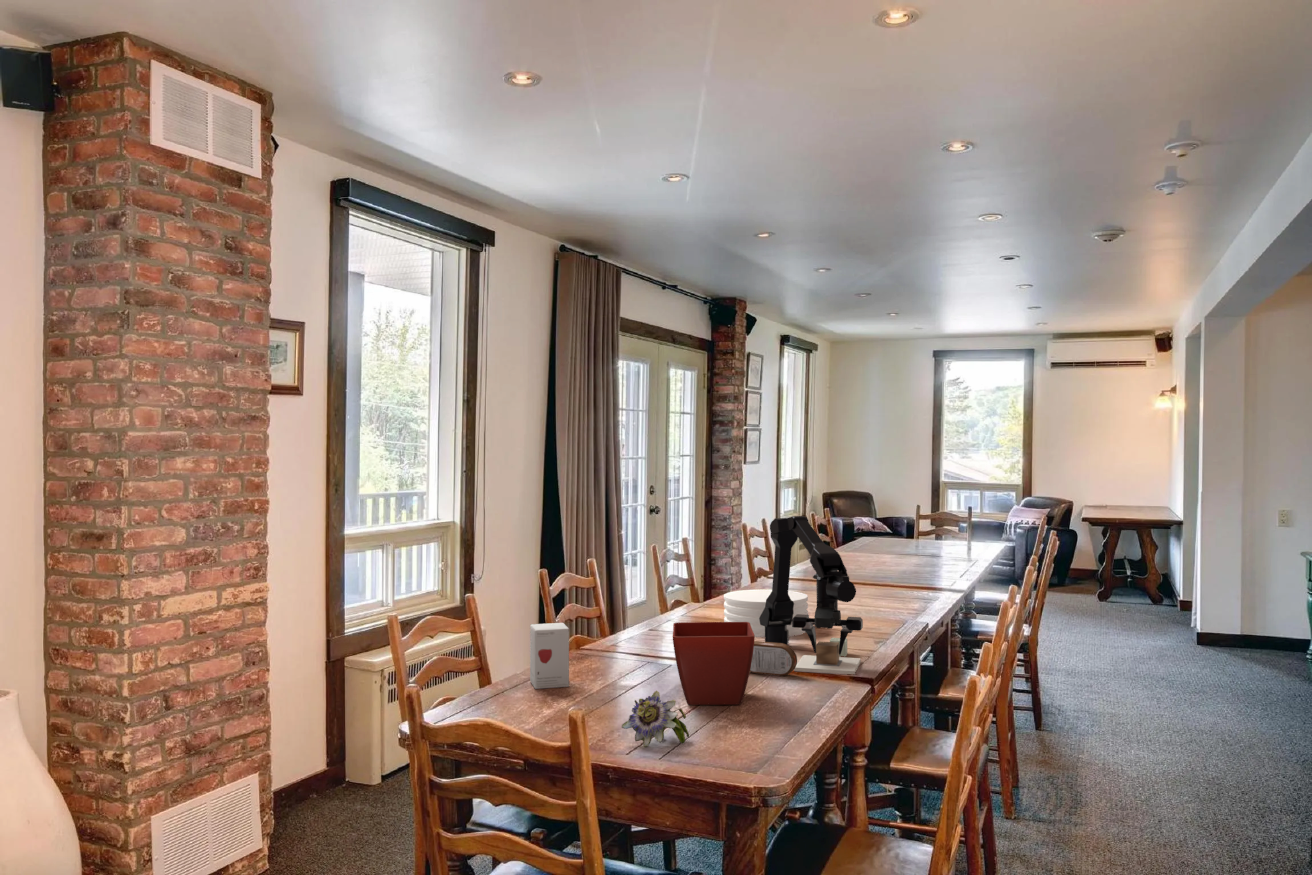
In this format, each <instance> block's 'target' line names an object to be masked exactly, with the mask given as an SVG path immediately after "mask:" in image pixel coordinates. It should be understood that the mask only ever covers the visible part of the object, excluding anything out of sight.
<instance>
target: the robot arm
mask: <svg viewBox="0 0 1312 875" xmlns="http://www.w3.org/2000/svg"><path fill="white" fill-rule="evenodd" d="M769 532H770V539H771V540H772V543H773V544H774V558H773V570H772V571H773V574H772V585H771V586H772V587H771V589H772V592H771V594H770V595H769V597H768V598H767V599H766V604H765V608H764V610H763V612H762V614H761V616H760V617H759V620H760V625H762V626H765V637H764V642H772V643H783V644H786V645H788V644H789V641H790V640H789V638H790V636H789V630H788V629H787V625H791V624H792V627H795V628H802V631H805V632H806V635H807V637H808V638H809V640H810V644H811V647H812V649H813V653H814V654H816V645H817V636H816V635H817V634H816V629H828V630H831V629H833V628H834V627H841V630H840V633H839V634H840V636H839V638H840V644H839V655H841V652H842V649H843V646H844V643H845V640H846V638H847V637H848V635H849V634H851V633H853V631H855V632H856V631H862V629H863V627H864V626H863V625H864V622H863V618H862V617H860V616H847V618H846V619H842V614H841V610H839V607H838V606H839V604H838V601H840V602H843V603H849V602H851V601H853V600H854V598H855V597H856V595H857V589H856V586H855V585H854V583H853V582H852V581H850V576H849V575H848V572H847V571H848V570H847V568H846V566H845V564H844V561H843V559H842V557H841V555H840V553H839V552H838V551H837V550H836V549H835V548H833V546H830V545H828V544H826V543H825V542H823V540H822V539H821V537H820V535H819V534H818V533H817V532H816V531H815V529H814V528H813V526H812V525H811V524H810V522H809V519H808V517H807V516H805V515H794V516H793V515H792V516H790V517H779V518H773V519H772V520H771V522H770V524H769ZM798 540H799V541H800V542H801V543H802V545H803V546H804V548H805V550H807V552H808V553H809V555H810V557H809V562H810V564H811V567H812V569H813V570H814V572H815V574H814V575H813V576H812V579H815V580H816V582H815V585H816V609H815V612H814V617H810V614H808V615H802V614H797V615H796V616H795V617H794V618H793V614H794V611H793V607H794V602H793V601H791V599H790V597H789V595H788V591H789V586H790V575H791V574H790V571H791V562H792V561H791V559H792V548H793V547H794V545H795V544H796V543H797V541H798ZM792 618H793V619H792Z"/></svg>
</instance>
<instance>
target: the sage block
mask: <svg viewBox="0 0 1312 875" xmlns="http://www.w3.org/2000/svg"><path fill="white" fill-rule="evenodd" d="M829 642H839V644H840V637H831V638H830V639H829ZM847 655H848V638H847V637H846V640H845V643H844V646H843V649H842V652H841V655H839V657H841V656H844V657H846V658H847Z"/></svg>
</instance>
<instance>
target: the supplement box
mask: <svg viewBox="0 0 1312 875" xmlns="http://www.w3.org/2000/svg"><path fill="white" fill-rule="evenodd" d="M529 629H530V631H529V634H530V635H529V638H530V641H529V642H530V644H529V649H530V650H529V652H530V653H529V681H530V683H531V685H532V686H533V688H534V689H535V690H539V689H555V688H569V687H570V628H569V627H568V626H567V625H566V624H565V623H564V622H553V623H552V622H551V623H533V624H530V625H529Z"/></svg>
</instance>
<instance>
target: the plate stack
mask: <svg viewBox="0 0 1312 875" xmlns="http://www.w3.org/2000/svg"><path fill="white" fill-rule="evenodd" d="M771 592H772V588H771V589H770V588H769V589H767V588H765V589H763V588H762V589H760V588H759V589H758V588H757V589H744V590H743V589H741V590H734V591H730V592H729V591H728V592H726V593H724V594H723V600H724V602H723V608H724V609H723V615H724V617H723V622H749V623H750V625H751V628H752V630H753V633H754V635H755V638H765V626H762V625H760V620H759V617H760V616H761V614H762V612H763V610H764V608H765V604H766V599H767V598H768V597H769V595H770V594H771ZM788 595H789V597H790V599H791V601H793V602H794V607H793V611H794V614H793V618H794V617H795V616H796V615H797V614H802V615H809V610H808V608H809V604H808V602H807V601H809V595H808V594H806V593H804V592H801V591H793V590H788ZM793 618H792V619H793ZM787 629H788V630H789V637H794V635H795V636H800V635H803V633H804V634H805V633H806V632H805V631H802V628H795V627H792V624H791V625H787ZM806 634H807V633H806Z"/></svg>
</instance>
